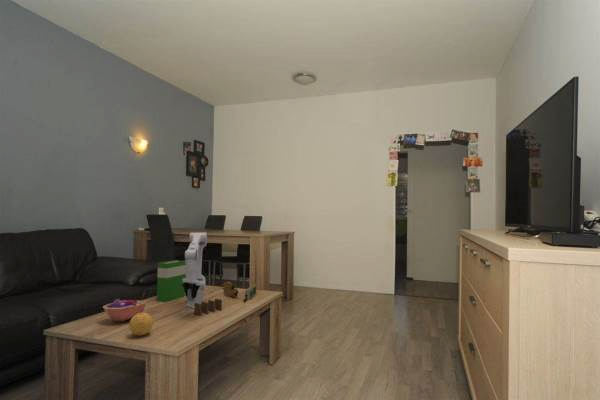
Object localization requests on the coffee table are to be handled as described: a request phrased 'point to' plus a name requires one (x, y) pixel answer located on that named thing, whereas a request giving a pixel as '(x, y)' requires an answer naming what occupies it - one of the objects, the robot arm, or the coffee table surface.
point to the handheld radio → (250, 292)
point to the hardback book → (170, 280)
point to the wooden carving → (229, 289)
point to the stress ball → (141, 324)
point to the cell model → (124, 309)
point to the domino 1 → (189, 295)
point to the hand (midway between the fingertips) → (190, 297)
